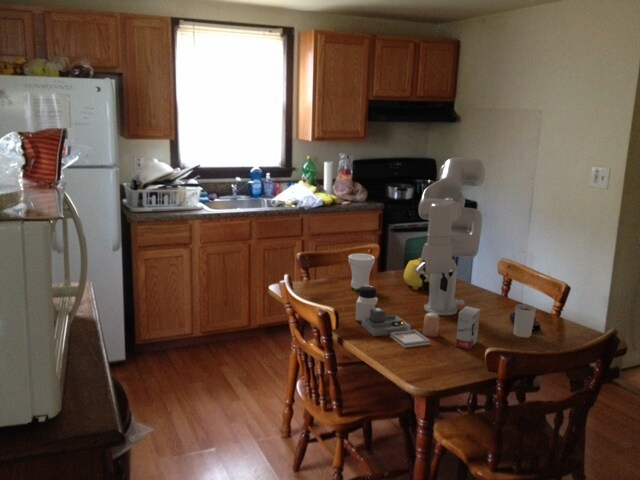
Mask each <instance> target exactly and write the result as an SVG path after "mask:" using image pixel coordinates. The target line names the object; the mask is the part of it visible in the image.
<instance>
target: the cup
mask: <svg viewBox="0 0 640 480" xmlns="http://www.w3.org/2000/svg"><path fill="white" fill-rule="evenodd" d="M375 261H376V258H375V256H373V255H372V254H369V253H352V254H349V255H348V264H349V266H350V270H351V283H350V287H351V289H352V290H354V291H356V292H357V291H359V290H360V287H362V286H370V275H371V271H372V269H373V266H374V265H375V263H376V262H375Z"/></svg>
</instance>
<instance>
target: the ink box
mask: <svg viewBox="0 0 640 480" xmlns="http://www.w3.org/2000/svg"><path fill="white" fill-rule="evenodd" d="M480 313H481V308H476V307H471V306H468V305H467V306H464V308H462V309H461V310H460V311H458V319H457V328H456V329H457V330H456V338H455V347H458V348H461V349H466V350H471V349H472V347H473V346H474V345H475V344H476V343H477V342H478V333H479V323H480Z"/></svg>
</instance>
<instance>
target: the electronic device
mask: <svg viewBox="0 0 640 480" xmlns="http://www.w3.org/2000/svg"><path fill="white" fill-rule="evenodd" d="M509 320H510V322H511V323H512V324H513V325H514V323H515V311H514V312H512V313H510V314H509ZM536 320H537V319H536V316H535V317H534V322H533V328H534V329H532V330H534V331H533V332H538V331H540V330H541V326H540V324H538V322H537V321H536Z"/></svg>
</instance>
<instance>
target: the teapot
mask: <svg viewBox="0 0 640 480" xmlns="http://www.w3.org/2000/svg"><path fill="white" fill-rule="evenodd" d="M420 261H421V257H418V259H414V260H413V259H412V260H409V261H408V263H407V265H406V267H405V268H404V271H403V280H404V282H405V283H406V284H407V285H408V286H411V287H412V290H415V291H417V290H419V288H422V280H421V278H420V277H419V276H418V274H417V273H416V272H415V270H416V268H417V267H418V266H419V265H420ZM423 272H424V271H421V273H422V274H423ZM428 282H429V291H430V282H431V275H430V278H429V280H428Z"/></svg>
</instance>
